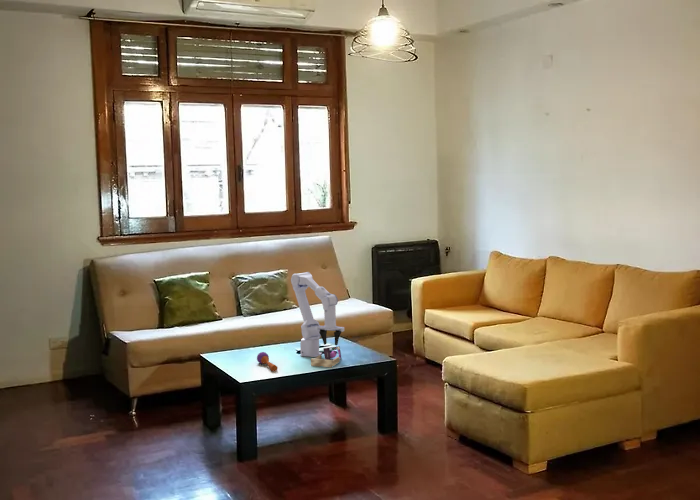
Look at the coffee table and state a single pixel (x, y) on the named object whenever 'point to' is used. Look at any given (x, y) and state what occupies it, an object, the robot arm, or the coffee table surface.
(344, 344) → the coffee table surface
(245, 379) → the coffee table surface
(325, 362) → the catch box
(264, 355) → the kendama
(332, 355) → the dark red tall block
